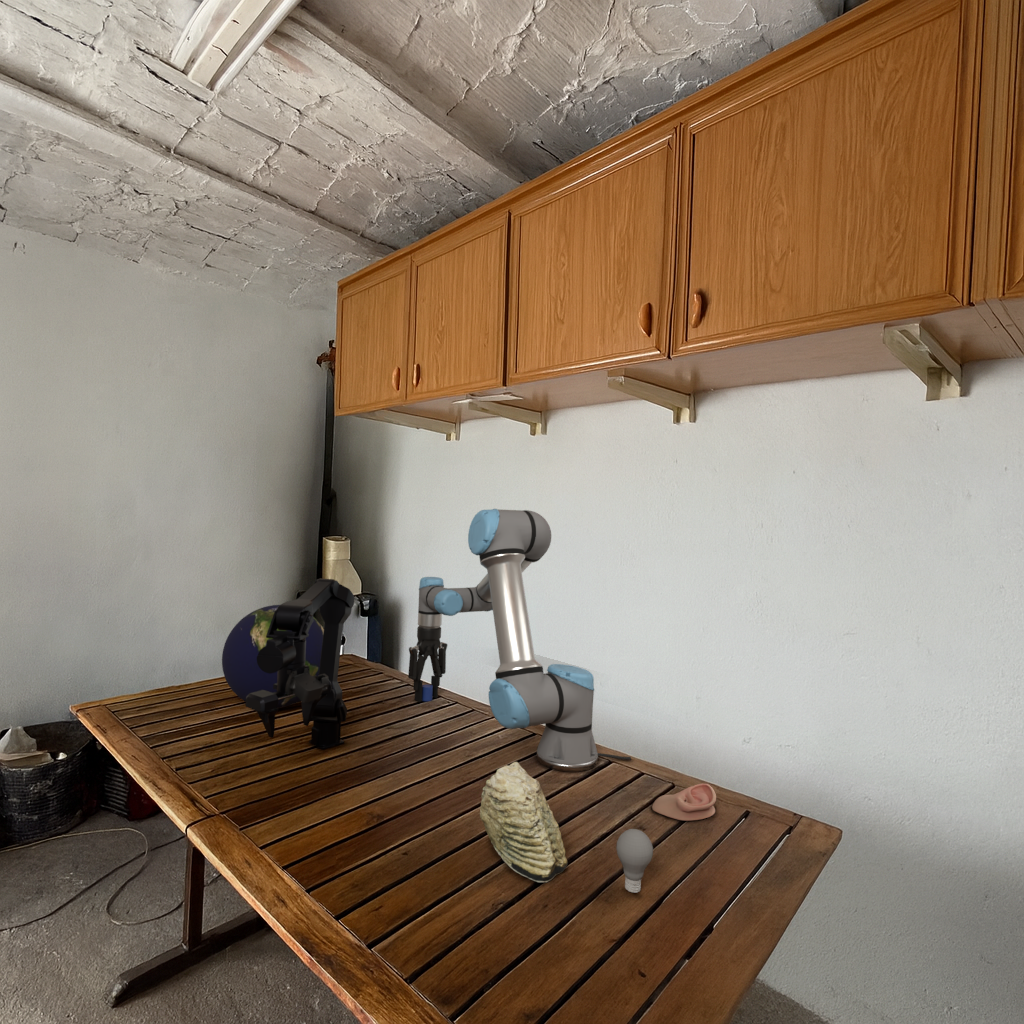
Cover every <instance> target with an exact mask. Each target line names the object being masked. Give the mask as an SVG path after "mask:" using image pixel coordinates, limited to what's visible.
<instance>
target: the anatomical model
mask: <svg viewBox="0 0 1024 1024" xmlns="http://www.w3.org/2000/svg"><path fill="white" fill-rule="evenodd" d="M716 801H717V794H716V792H715V790H714V788H713V787H712V786H711V785H710V784H708V783H698V784H693V785H691V786H689V787H686V788H684V789H683V790H682V789H681V791H678V792H676V793H674V794H664V795H661V796H659V797H657V798H656V799H655V800H654V802H653V803H652V806H651V807H652V808H651V809H652V811H654V812H656V813H657V814H659V815H662V816H665V817H667V818H671V819H674V820H678V821H685V822H687V821H698V820H703V819H706V818H710V817H712V816H714V815H715V813H716V808H715V806H714V805H715V804H716Z"/></svg>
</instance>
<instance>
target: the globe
mask: <svg viewBox="0 0 1024 1024" xmlns="http://www.w3.org/2000/svg"><path fill="white" fill-rule="evenodd" d="M279 605H280V604H272V605H266V606H263V607H260V608H257V609H255V610H253V611H251V612H250V613H248V614H246V615H245V616H243V618H241V619H240V620H239V621H238V622H237V623H235V625H234V627H232V629H231V631H230V632H229V634H228V635H227V637H226V640H225V642H224V645H223V649H222V654H221V666H222V672H223V676H224V678H225V679H224V680H225V681H226V683H227V685H228V687H229V688H230V689H231V691H232V692H233V693H234V694H235V695H236V696H237V697H238V698H239V699H240V700H242V701H244V702H245V703H246V697H247V696H248V694H249V693H253V692H257V691H260V690H265V691H269V692H272V693H273V692H277V690H276V689H273V684H276V683H277V674H278V671H277V672H275V673H266V672H264V671H262V670H261V669H260V668H259V666H258V664H257V656H258V653H259V651H260V650H261V649H262V648H263V647H265V646H267V640H269V639H273V638H266V635H267V632H268V629H269V626H270V623H271V621H272V618H273V615H274V612H275V610H276V609H277V608H278V606H279ZM277 630H278V629H277ZM278 631H287V630H278ZM323 632H324V626H322V624H321V623H320V621H318V619H317V618H315V616H313V623H312V624H311V627H310V629H309V632H308V634H309V636H308V637H307V638H306V654H305V665H307V666H309V669H310V675H311V676H315V675H316V676H318V675H319V667H320V659H321V650H322V641H323ZM299 702H301V701H300V699H299V698H298V697H297V696H293V697H289V698H286V699H282V700H279V701H278V705H277V707H276V708H278V709H282V708H285V707H289V706H293V705H295V704H298V703H299Z"/></svg>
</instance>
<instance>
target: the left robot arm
mask: <svg viewBox="0 0 1024 1024" xmlns="http://www.w3.org/2000/svg"><path fill="white" fill-rule="evenodd" d="M354 604H355V595H354V593H353V592H352V590H351V589H350V588H349V587H346V586H345V585H343V584H341V583H339V581H338V580H337V579H335V578H321V577H320V578H317V579H316V580H315V581H314V584H312V586H310V587H309V588H308V589H307V590H306V591H304V593H302V594H301V595H300V596H299V597H298V598H295V599H291V600H287V601H285V602H282V603H280V604H278V605H279V606H278V608H277V609H276V610H275V612H274V615H273V618H272V621H271V623H270V626H269V629H268V632H267V635H266V638H273V639H269V640H267V646H265V647H263V648H262V649H261V650H260V651H259V653H258V656H257V664H258V666H259V668H260V669H261V670H262V671H264V672H266V673H275V672H277V671H278V674H277V683H276V684H273V689H276V690H277V692H273V693H272V692H269V691H265V690H260V691H257V692H253V693H249V694H248V696H247V697H246V702H245V707H246V708H249V709H251V710H252V711H255V712H256V713H257V715H258V717H259V718H260V720H261V723H262V725H263V728H264V729H265V731H266V733H267V735H268V738H270V739H272V738H274V736H275V729H276V728H275V727H276V714H277V713H278V712H279V710H280V708H276V707H277V705H278V701H279V700H282V699H286V698H289V697H293V696H297V697H298V698H299V699H300V701H299V702H300V703H301V717H302V722H303V726H304V727H309V725H310V722H313V723H312V727H311V730H310V731H311V732H310V733H311V735H310V739H309V740H308V743H309V744H310V745H313V746H314V747H316V748H318V749H320V750H327V749H329V748H333V747H336V746H340V745H343V744H344V743H345V741H344V740H343V739H341V737H342V735H341V733H342V723H343V722H346V721H347V717H348V708H347V705H346V703H345V701H344V700H343V690H342V688H341V686H340V683H339V682H338V677H339V669H340V660H341V659H340V658H341V648H342V641H343V632H344V624H345V623H346V621H347V620H348V618H349V617H350V616H351V614H352V609H353V607H354ZM318 610H319V614H320V616H321V619H322V620H323V623H324V624H323V625H324V626H323V629H324V632H323V641H322V650H321V659H320V667H319V675H318V676H316V675H315V676H311V675H310V669H309V666H307V665H305V654H306V638H307V637H308V636H309V634H308V632H309V629H310V627H311V624H312V623H313V617H314V614H315V613H316V612H317V611H318ZM277 629H278V630H287V631H278V630H277Z"/></svg>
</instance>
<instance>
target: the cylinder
mask: <svg viewBox="0 0 1024 1024" xmlns="http://www.w3.org/2000/svg"><path fill="white" fill-rule="evenodd" d="M432 694H433V686H432V685H431V684H429V683H426V684H422V701H421V702H432V701H433V697H432Z"/></svg>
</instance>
